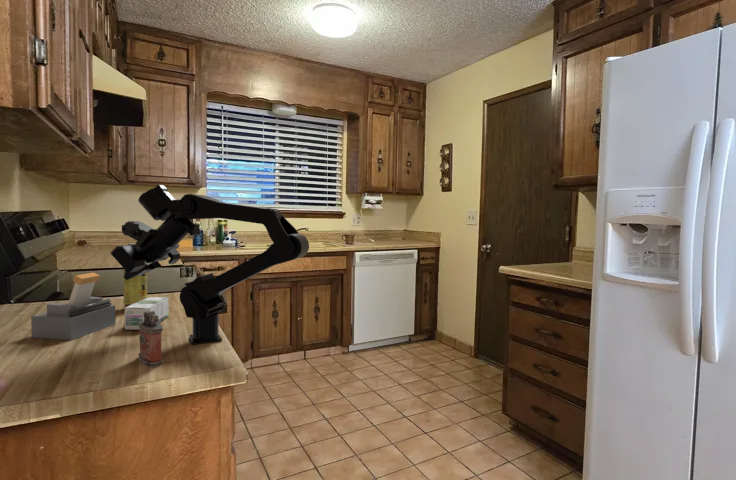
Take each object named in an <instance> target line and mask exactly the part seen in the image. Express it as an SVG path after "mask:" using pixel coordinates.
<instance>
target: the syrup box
mask: <svg viewBox="0 0 736 480" xmlns="http://www.w3.org/2000/svg"><path fill="white" fill-rule="evenodd" d="M146 311H155V314H156V315H157V316H158V317H159V322H158V323H161V322H162V321H163V320H165V319H167V318H168V317H169V312H170V311H169V297H168V296H147V298H145V299H143V300H141V301H138V302H136V303H134V304H132V305H130V306H128V307H126V308H124V331H125V330H132V331H133V330H140V328H139V322H140V321H144V312H146Z"/></svg>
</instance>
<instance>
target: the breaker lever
mask: <svg viewBox="0 0 736 480" xmlns="http://www.w3.org/2000/svg"><path fill="white" fill-rule="evenodd" d="M73 277H74V278H73V280H72V282H73V283H74V285H73V289H72V291H71V294H70V298H69V299H68V302H67V304H76V308H77V307H80V306H84V305H88V302H89V299H90V297H92V293H93V289H94V287H95V284H96V283H97V282H99V279H100V277H101V275H100V274H98V273H95V272H87V273H82V274H77V275H74V276H73Z"/></svg>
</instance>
